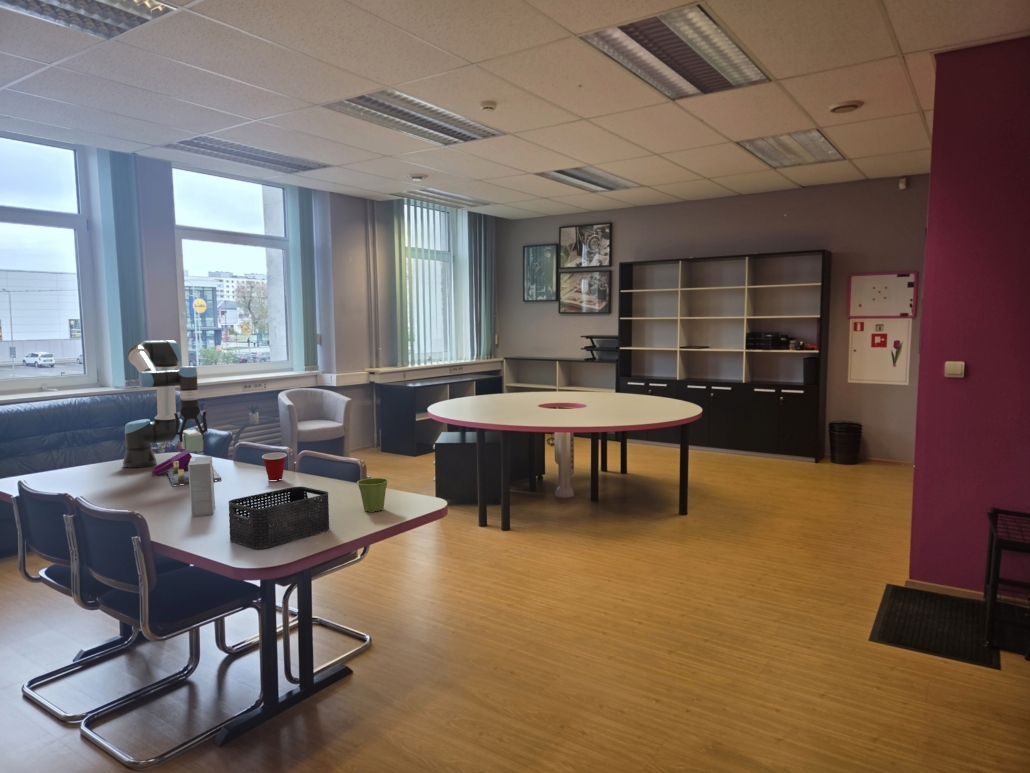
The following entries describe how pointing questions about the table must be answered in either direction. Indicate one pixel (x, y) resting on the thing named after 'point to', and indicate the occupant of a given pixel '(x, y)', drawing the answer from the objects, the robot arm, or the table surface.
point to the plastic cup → (274, 465)
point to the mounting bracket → (181, 457)
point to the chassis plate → (184, 475)
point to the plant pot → (373, 493)
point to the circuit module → (193, 440)
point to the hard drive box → (201, 486)
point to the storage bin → (278, 517)
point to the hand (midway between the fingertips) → (192, 447)
